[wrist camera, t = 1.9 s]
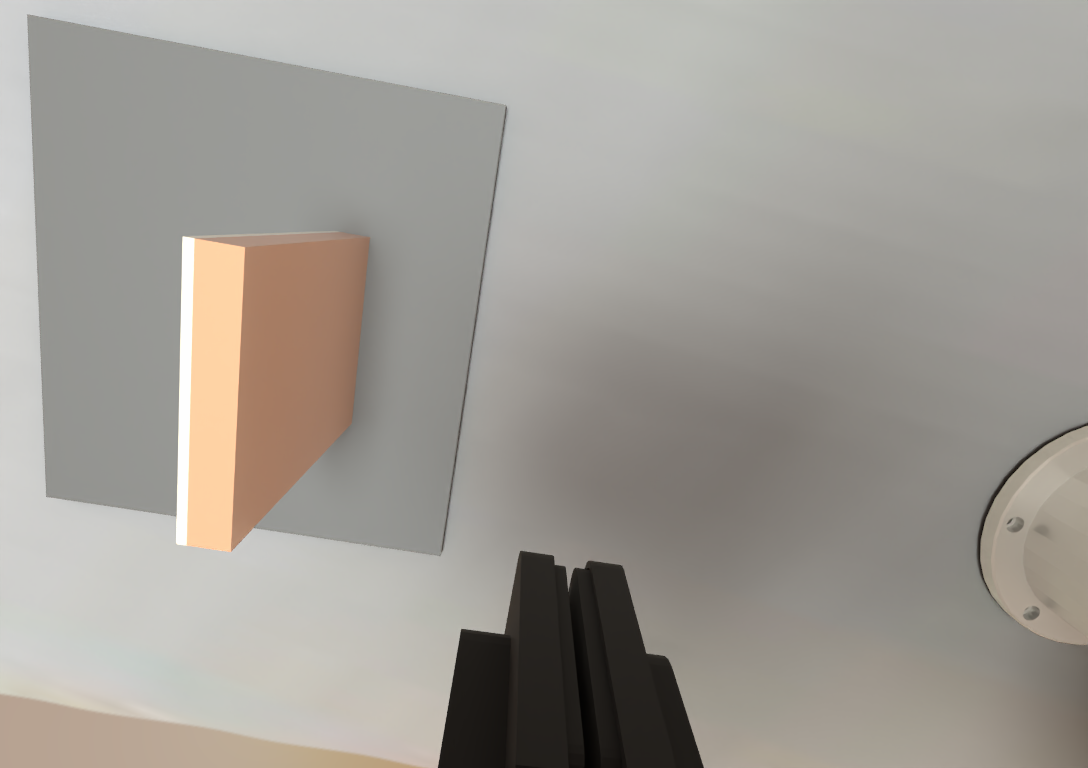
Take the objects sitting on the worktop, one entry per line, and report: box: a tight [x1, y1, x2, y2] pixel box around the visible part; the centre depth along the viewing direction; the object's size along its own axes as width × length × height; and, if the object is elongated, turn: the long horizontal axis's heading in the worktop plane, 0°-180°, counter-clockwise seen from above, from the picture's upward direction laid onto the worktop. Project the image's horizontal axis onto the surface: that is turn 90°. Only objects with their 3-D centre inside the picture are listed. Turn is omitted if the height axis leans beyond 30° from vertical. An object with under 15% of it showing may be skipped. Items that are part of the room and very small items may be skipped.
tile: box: [176, 231, 370, 552], centre depth 23 cm, size 2×9×12 cm, turn 170°
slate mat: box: [27, 14, 507, 556], centre depth 29 cm, size 20×22×1 cm
